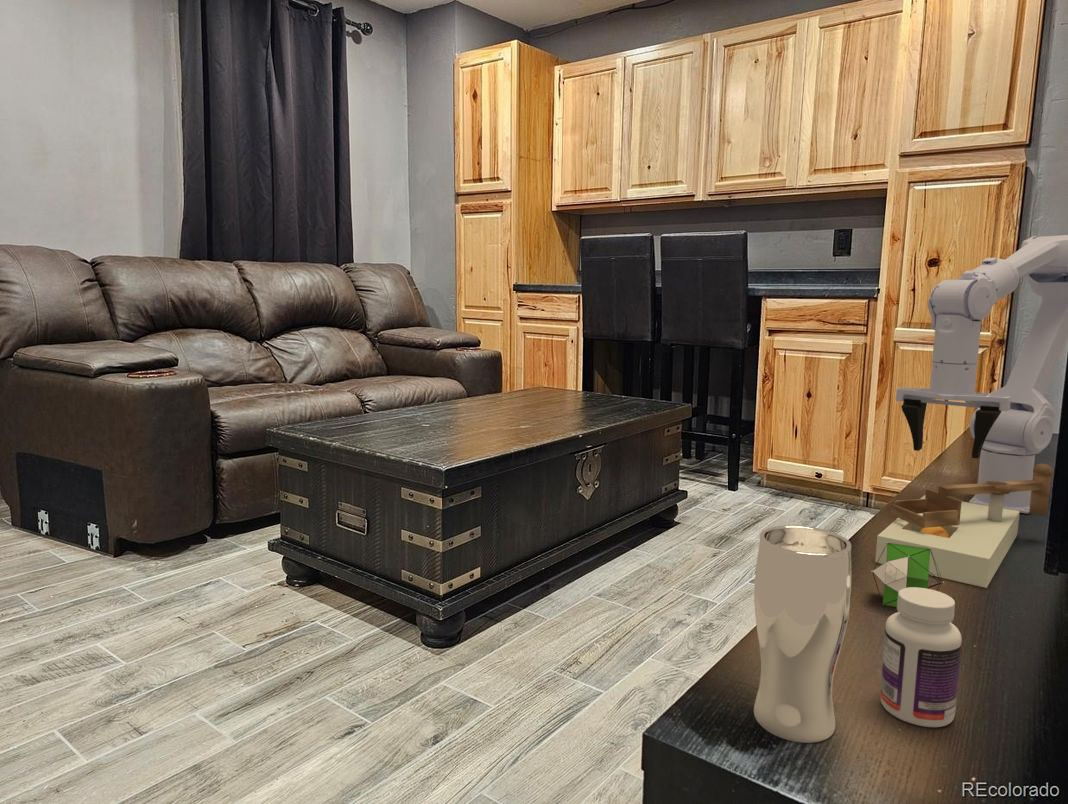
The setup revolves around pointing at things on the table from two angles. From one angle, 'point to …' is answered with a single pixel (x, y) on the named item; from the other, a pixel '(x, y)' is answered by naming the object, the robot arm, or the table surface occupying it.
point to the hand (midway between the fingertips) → (946, 453)
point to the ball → (935, 531)
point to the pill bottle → (921, 659)
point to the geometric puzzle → (904, 571)
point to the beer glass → (800, 628)
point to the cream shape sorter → (961, 542)
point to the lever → (947, 509)
